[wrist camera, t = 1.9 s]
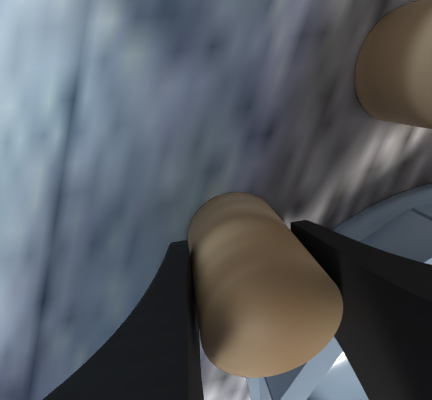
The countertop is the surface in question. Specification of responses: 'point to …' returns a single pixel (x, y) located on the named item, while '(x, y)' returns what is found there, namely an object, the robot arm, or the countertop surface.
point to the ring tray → (333, 354)
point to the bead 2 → (398, 67)
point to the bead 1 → (257, 289)
